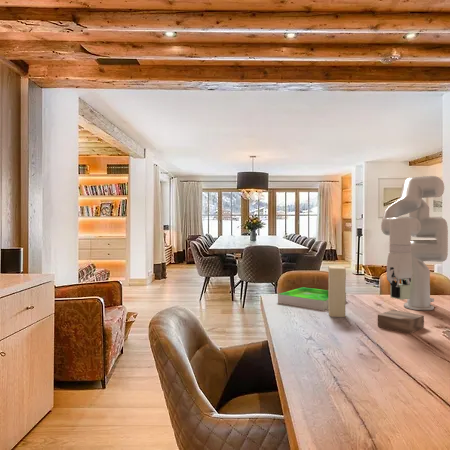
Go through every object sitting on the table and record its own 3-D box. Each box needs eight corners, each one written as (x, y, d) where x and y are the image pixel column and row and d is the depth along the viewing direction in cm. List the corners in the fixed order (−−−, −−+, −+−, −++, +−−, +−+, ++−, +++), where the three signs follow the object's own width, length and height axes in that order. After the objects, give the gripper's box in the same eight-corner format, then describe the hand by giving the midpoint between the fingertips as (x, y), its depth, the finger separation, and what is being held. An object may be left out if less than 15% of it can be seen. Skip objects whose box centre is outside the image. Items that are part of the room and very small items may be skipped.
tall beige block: (347, 317, 157) (347, 268, 157) (329, 316, 158) (329, 268, 158) (345, 313, 165) (345, 266, 165) (328, 312, 166) (328, 265, 166)
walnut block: (393, 322, 151) (393, 309, 151) (423, 328, 141) (423, 315, 141) (377, 327, 143) (377, 314, 143) (408, 334, 134) (408, 320, 134)
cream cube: (398, 296, 145) (398, 283, 145) (410, 298, 141) (410, 285, 141) (390, 297, 143) (390, 284, 143) (402, 299, 138) (402, 286, 138)
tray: (277, 303, 187) (277, 294, 186) (302, 296, 205) (302, 287, 205) (323, 311, 170) (323, 300, 170) (346, 302, 189) (346, 292, 189)
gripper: (404, 248, 150) (404, 293, 149) (377, 249, 141) (377, 297, 141) (422, 249, 143) (422, 296, 143) (395, 250, 134) (395, 300, 134)
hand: (400, 296), depth 142 cm, fingers closed on cream cube, 4 cm apart
